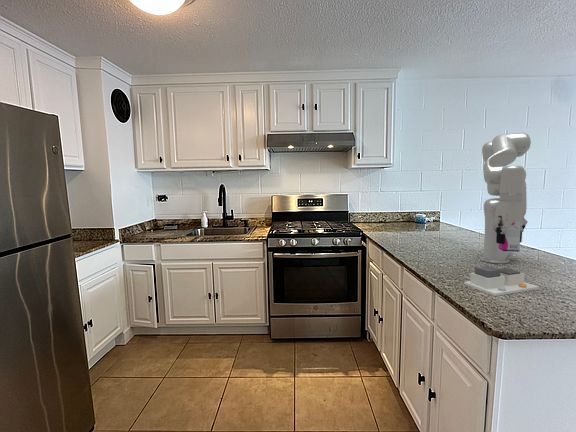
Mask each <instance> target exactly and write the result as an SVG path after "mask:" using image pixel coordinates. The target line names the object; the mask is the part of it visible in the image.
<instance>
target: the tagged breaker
mask: <svg viewBox="0 0 576 432" xmlns="http://www.w3.org/2000/svg"><path fill="white" fill-rule="evenodd" d="M499 269H500V270H501V272H500V273H503V274H506V275H514V274H520V272H521V271H519V270H514V269H511V268H507V267H504V268H503V267H501V268H499Z"/></svg>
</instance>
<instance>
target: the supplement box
mask: <svg viewBox="0 0 576 432" xmlns="http://www.w3.org/2000/svg"><path fill="white" fill-rule="evenodd" d="M520 225H521V223H520V222H513V223H512V225H511V227H509V228H506V230H505V232H504V234H505V244H499V249H501V250H502V251H506V252H512V253H513V252H515V253H516V252H517V253H519V252H520V248H521V242H520ZM502 226H503V224H502ZM501 230H502V228H501Z"/></svg>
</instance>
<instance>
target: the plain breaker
mask: <svg viewBox="0 0 576 432" xmlns="http://www.w3.org/2000/svg"><path fill="white" fill-rule="evenodd" d="M500 269H501V268H497V267H494V266H493V267H492V266H489V265H482V266H480V265H479V266H475V267H474V272H475V274H477V275H480V276H483V277H486V278H492V277H499V276H500V272H501V270H500Z"/></svg>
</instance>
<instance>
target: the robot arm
mask: <svg viewBox="0 0 576 432" xmlns="http://www.w3.org/2000/svg"><path fill="white" fill-rule="evenodd" d="M531 142H532V141H531V137H530V135H529V134H528V133H526V132H512V133H502V134H498V135H496V136H495V137H494V138H492V140H491V141H488V142H485V143H484V144H483V145H482V147H481V148H482V149H481V153H482V159H483V162H484V164H483V167H482V168H483V169H482V171H483V181H484V182H485V184H486V185H487V194H488V195H490V196H493V197H495V198H489V199H486V200H485V201H484V202H483V213H484V237H483V239H484V240H483V241H484V242H483V255H481V256H480V257H479V259H480V261H482V262H486V263H490V264H502V265H503V264H508V263H510V262H511V261H510V259H509V258H508V257H512V256H514V253H513V251H502V250H501V249H499V244H505V234H504V232H505V230H506V228H509V227H511V225H512V223H513V222H520V223H521V225H520V243H522V242H523V241H522V240H523V233H524V229H526V226H527V224H528V220H527V219H526V218H525V216H526V214H527V207H528V206H527V183H526V179H527V171H526V169H525V167H524V166H522V165H511V164H513V162H515V161H516V160H517V158H520V157H523V156H524V155H525V154H526V153H527V152H528V151H529V149H530V147H531V144H532V143H531ZM497 197H498V198H497ZM502 224H503V226H502ZM501 228H502V230H501Z"/></svg>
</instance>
